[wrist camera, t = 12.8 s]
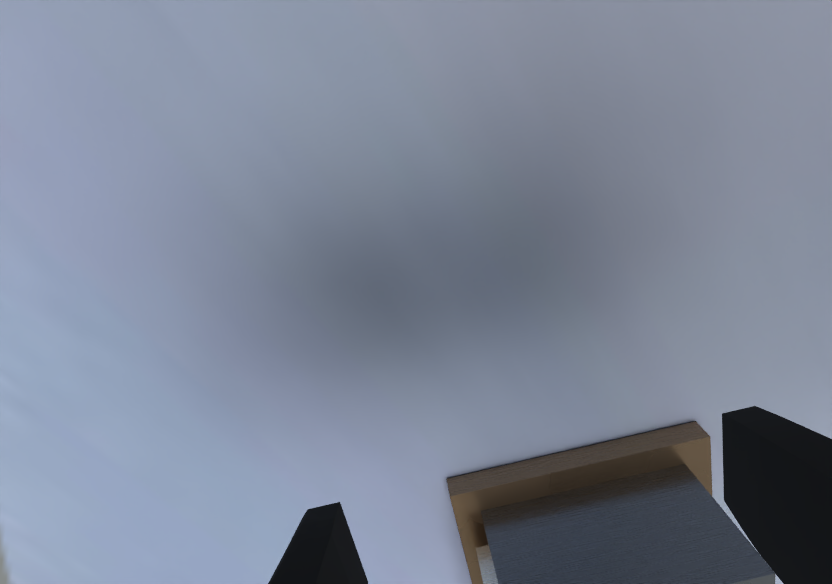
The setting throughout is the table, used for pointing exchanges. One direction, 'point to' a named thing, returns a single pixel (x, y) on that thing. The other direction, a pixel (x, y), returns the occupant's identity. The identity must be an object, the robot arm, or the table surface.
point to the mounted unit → (605, 517)
